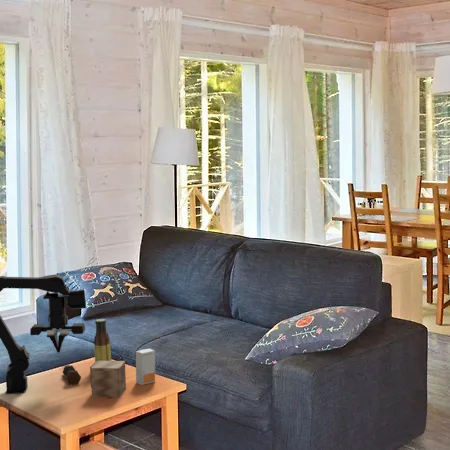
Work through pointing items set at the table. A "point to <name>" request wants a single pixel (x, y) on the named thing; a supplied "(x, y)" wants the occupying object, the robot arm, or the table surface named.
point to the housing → (108, 378)
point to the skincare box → (145, 366)
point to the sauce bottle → (102, 342)
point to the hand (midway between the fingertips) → (58, 352)
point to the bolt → (71, 375)
